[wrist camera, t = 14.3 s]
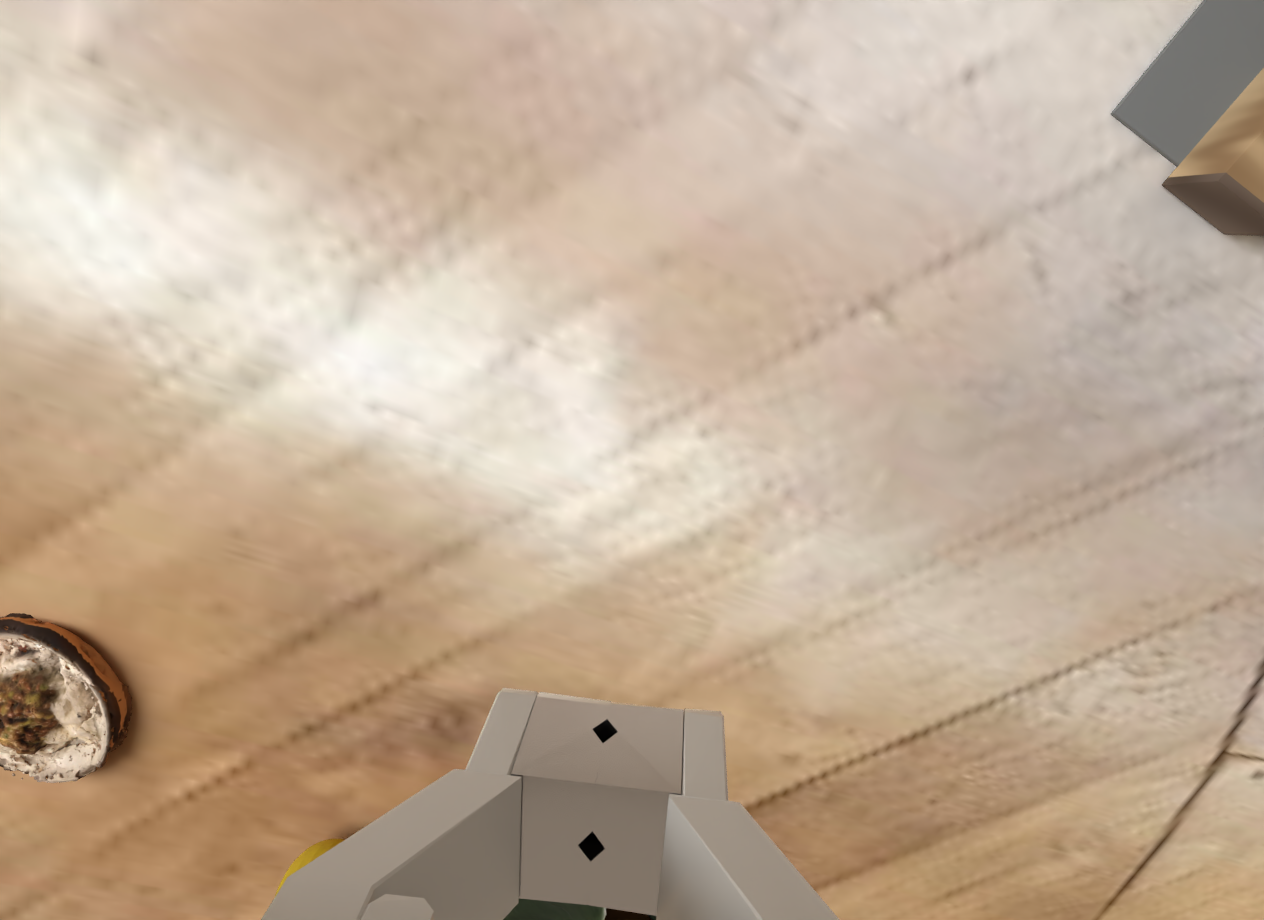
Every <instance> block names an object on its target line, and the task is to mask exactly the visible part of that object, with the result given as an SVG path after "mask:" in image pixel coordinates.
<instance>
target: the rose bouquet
mask: <svg viewBox="0 0 1264 920" xmlns="http://www.w3.org/2000/svg"><path fill="white" fill-rule="evenodd" d="M605 915H606V908H603V907H597V906H591V905H583V904H572V903H562V902H552V901H541V900H531V899H520V898H519V903H518V904H517V905H516V906H515V907H514V908H513V909H512V910H511V912H510V913H509V914H508V915H507V916H506V917H505V918H504V919H503V920H604V919H605ZM647 915H648V914H647ZM606 916H607V915H606ZM648 916H649V917H650V918H651V919H652V920H656V916H654V915H648Z"/></svg>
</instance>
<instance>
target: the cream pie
mask: <svg viewBox="0 0 1264 920" xmlns="http://www.w3.org/2000/svg"><path fill="white" fill-rule="evenodd" d="M41 622H42V621H41ZM131 699H132V698H131V696H130V694H129V692H128V686H125V685H124V684H123V683H121V682H120V681H119V679H118V678H117V676H116V674H115V673H114V672H113V671H112V669H111V668H110V666H109V665H108V664H107V663H106V661H105V660H104V659H103V658H102V656H101V655H100V654H99V653H98V652H97V651H96V650H95V649H94V648H93V647H92V646H90V645H88V644H87V643H85V642H84V641H83V640H81V639H80V638H79V637H78V636H77V635H75V634H73V633H72V632H70V631H68V630H66V629H64V628H61V627H59V626H57V625H54V624H51V623H49V622H46V623H39V621H38V620H37V619H34V618H33V617H32V616H31V615H26V614H14V613H12V614H9V615H7V616H6V617H1V618H0V766H1V767H3V768H4V770H10V771H16V770H19V771H21V772H22V773H23V774H29V776H30V777H32V776H33V777H34V779H35V780H37V782H42V781H44V782H47V783H48V782H49V783H56V782H59V783H60V782H67V781H77V780H78V779H80V778H82V777H84V776H86V775H88V774H90V773H91V772H94V771H96V768H97V767H102V766H104V764H105V762H106V760H107V758H108V753H109V752H110V751H113V750H115V749H116V747H118V745H121V744H123V743H122V742H123V739H124V738H126V737H127V736H126V735H127V732H126V731H128V730H127V729H126V730H125V728H126V727H127V726H128V722H129V721H130V716H131V714H132V713H131V710H132V703H131V702H132V700H131ZM12 775H13V776H15V774H14V773H12ZM46 778H48V779H46ZM52 778H55V779H52ZM21 779H23V778H21Z"/></svg>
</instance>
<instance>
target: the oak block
mask: <svg viewBox="0 0 1264 920" xmlns="http://www.w3.org/2000/svg"><path fill="white" fill-rule="evenodd" d="M1162 186H1163V187H1165V188H1166V189H1167V190H1169V191H1170V192H1171V193H1172V194H1174V195H1175V196H1176V197H1177V198H1179V199H1180V200H1181V201H1182V202H1184V203H1185V204H1186V205H1188V206H1189V207H1190V208H1191V209H1193V210H1194V211H1195V212H1196V213H1198V214H1199V215H1200V216H1202V217H1203V218H1204V219H1205V220H1207V221H1208V222H1209V223H1210V224H1212V225H1213V226H1214V227H1216V228H1217V229H1218V230H1219V231H1221V232H1222V233H1223V234H1228V235H1259V236H1264V68H1263V69H1262V70H1261V71H1260V72H1259V74H1258V75H1257V76H1256V77H1255V78H1254V79H1253V80H1252V82H1251V83H1250V84H1249V85H1248V86H1247V87H1246V89H1245V90H1244V91H1243V92H1242V93H1241V94H1240V95H1239V97H1238V98H1237V99H1236V100H1235V101H1234V102H1233V103H1232V105H1231V106H1230V107H1229V108H1228V109H1227V110H1226V112H1225V113H1224V114H1223V115H1222V116H1221V117H1220V118H1219V120H1218V121H1217V122H1216V123H1215V124H1214V125H1213V126H1212V128H1211V129H1210V130H1209V131H1208V132H1207V133H1206V134H1205V136H1204V137H1203V138H1202V139H1201V140H1200V141H1199V143H1198V144H1197V145H1196V146H1195V147H1194V148H1193V149H1192V151H1191V152H1190V153H1189V154H1188V155H1187V156H1186V157H1185V159H1184V160H1183V161H1182V162H1181V163H1180V164H1179V166H1178V167H1177V168H1176V169H1175V170H1174V171H1173V172H1172V174H1171V175H1170V176H1169V177H1168V178H1167V179H1166V180H1165V182H1164V183H1163V184H1162Z"/></svg>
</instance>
